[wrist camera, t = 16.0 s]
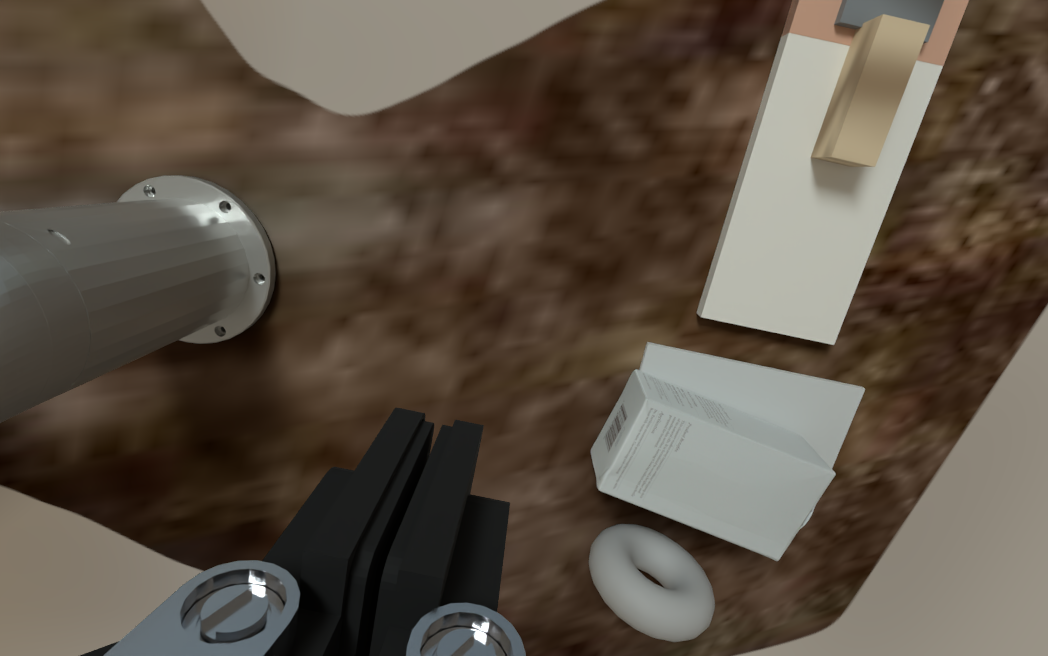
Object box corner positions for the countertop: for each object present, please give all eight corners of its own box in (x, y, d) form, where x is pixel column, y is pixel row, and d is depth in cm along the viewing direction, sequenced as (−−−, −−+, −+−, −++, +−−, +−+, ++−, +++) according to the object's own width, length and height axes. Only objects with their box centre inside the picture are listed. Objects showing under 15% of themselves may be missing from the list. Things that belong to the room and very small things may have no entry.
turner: (871, 171, 36) (896, 171, 34) (790, 153, 36) (809, 151, 33) (966, -73, 32) (1003, -95, 29) (874, -94, 32) (904, -118, 29)
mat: (614, 455, 44) (615, 457, 44) (647, 341, 42) (648, 343, 41) (816, 496, 45) (818, 499, 44) (862, 386, 42) (865, 388, 41)
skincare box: (588, 450, 44) (748, 516, 45) (594, 493, 38) (778, 568, 40) (636, 361, 42) (804, 434, 43) (650, 394, 36) (844, 477, 37)
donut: (578, 532, 47) (585, 626, 37) (593, 500, 46) (605, 588, 36) (685, 569, 47) (719, 672, 38) (702, 538, 46) (742, 635, 37)
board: (696, 313, 41) (700, 317, 40) (831, -126, 33) (841, -137, 32) (825, 340, 41) (834, 345, 40) (991, -91, 33) (1008, -101, 32)
